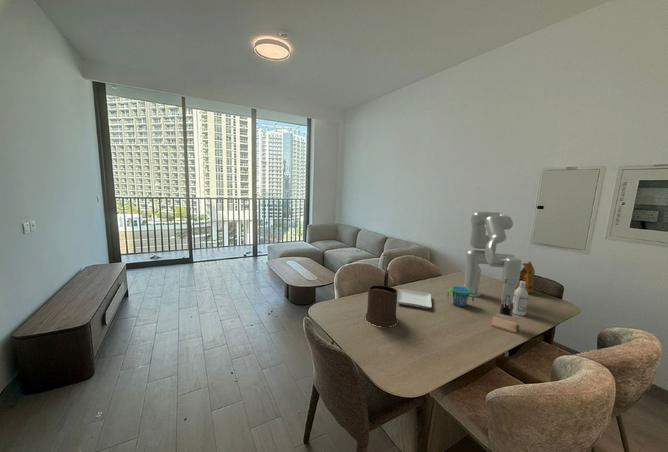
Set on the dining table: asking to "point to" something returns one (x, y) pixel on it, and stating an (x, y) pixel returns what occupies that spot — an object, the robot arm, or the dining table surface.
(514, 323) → the terracotta tile
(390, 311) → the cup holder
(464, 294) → the snack cup
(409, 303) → the salad plate
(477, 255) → the robot arm
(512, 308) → the walnut cube
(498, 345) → the dining table surface
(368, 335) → the dining table surface
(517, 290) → the bath foam
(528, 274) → the orange cat figurine
